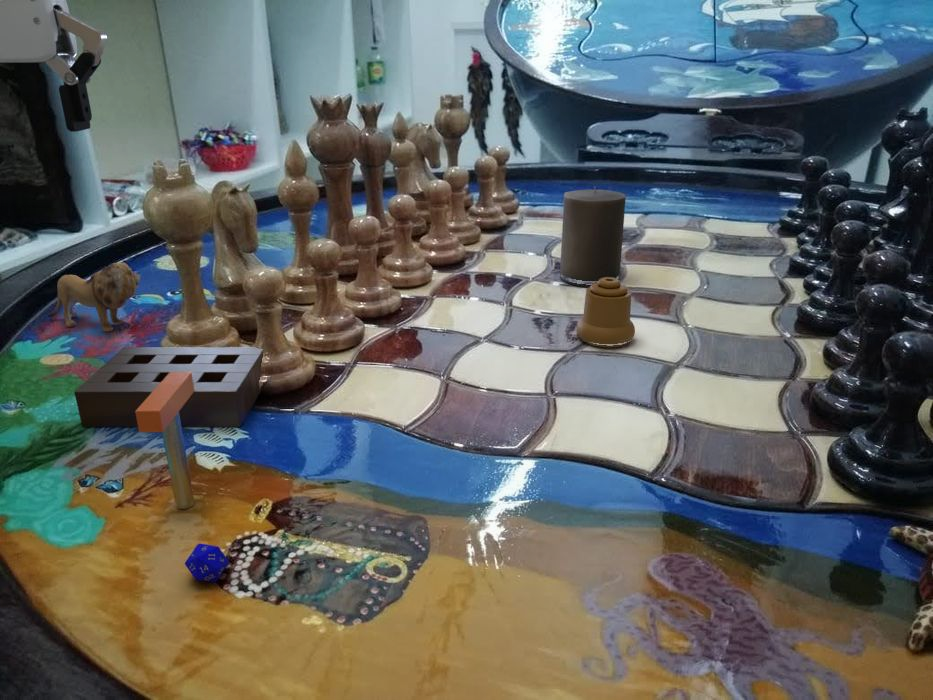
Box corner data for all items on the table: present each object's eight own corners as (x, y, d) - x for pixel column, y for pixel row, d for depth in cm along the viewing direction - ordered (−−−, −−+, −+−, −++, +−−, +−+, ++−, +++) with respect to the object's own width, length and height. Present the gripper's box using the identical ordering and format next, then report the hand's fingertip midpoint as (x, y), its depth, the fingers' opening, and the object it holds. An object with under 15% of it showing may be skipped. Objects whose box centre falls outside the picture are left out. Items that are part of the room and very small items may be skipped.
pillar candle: (614, 290, 114) (622, 194, 108) (553, 284, 117) (557, 189, 111) (623, 273, 123) (631, 182, 117) (565, 267, 125) (570, 179, 120)
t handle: (158, 530, 58) (134, 411, 54) (188, 481, 65) (169, 371, 61) (181, 530, 58) (159, 411, 54) (209, 481, 65) (191, 371, 61)
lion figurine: (154, 321, 102) (143, 258, 98) (131, 335, 97) (118, 269, 93) (60, 314, 104) (46, 252, 101) (33, 327, 99) (17, 263, 96)
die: (237, 576, 54) (219, 566, 51) (203, 593, 53) (184, 583, 51) (227, 543, 55) (210, 531, 52) (195, 559, 55) (176, 548, 52)
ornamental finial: (633, 330, 98) (634, 351, 92) (578, 326, 100) (574, 347, 93) (639, 273, 95) (640, 290, 89) (581, 269, 97) (577, 287, 90)
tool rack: (240, 427, 74) (235, 391, 72) (82, 427, 74) (73, 391, 72) (268, 378, 84) (264, 346, 83) (129, 379, 84) (123, 347, 83)
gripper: (103, -76, 65) (137, 125, 72) (-93, -76, 65) (-40, 125, 71) (60, -89, 58) (102, 135, 65) (-159, -90, 58) (-94, 135, 65)
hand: (27, 129), depth 68 cm, fingers open, 9 cm apart
